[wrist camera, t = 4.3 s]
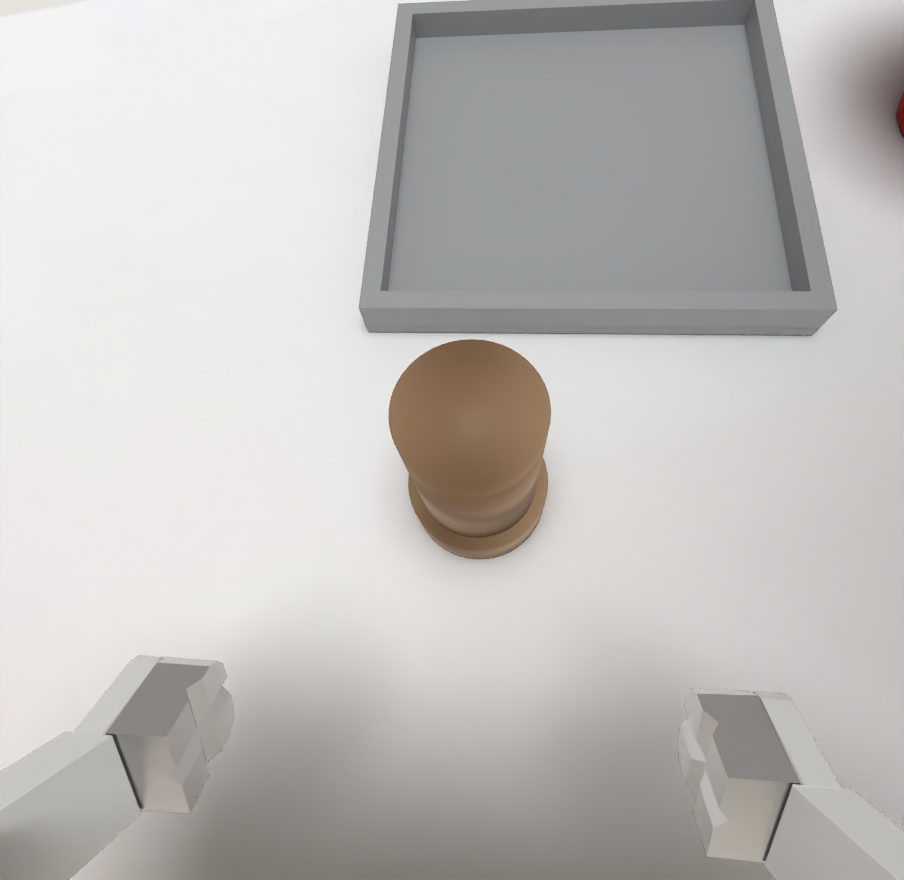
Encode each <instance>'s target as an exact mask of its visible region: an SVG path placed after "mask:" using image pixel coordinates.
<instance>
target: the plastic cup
mask: <svg viewBox="0 0 904 880" xmlns="http://www.w3.org/2000/svg"><path fill="white" fill-rule="evenodd" d="M896 116H897V120H898V123H899V126H900V130H901V133H902V135H903V136H904V93H903V96H902V98H901V101H900V105H899V108H898V111H897V115H896Z"/></svg>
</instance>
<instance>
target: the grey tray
mask: <svg viewBox="0 0 904 880" xmlns="http://www.w3.org/2000/svg"><path fill="white" fill-rule="evenodd" d="M359 310H360V312H361V315H362V317H363V320H364V322H365V325H366V327H367V330H368V332H455V333H592V334H730V335H813V334H814V333H815V332H816V331H817V330H818V329H819V328H820V327H821V326H822V325H823V324H824V323H825V322H826V321H827V320H828V319H829V318H830V317H831V316H832V315H833V314H834V313H835V312H836V311H837V305H836V301H835V296H834V291H833V286H832V281H831V277H830V272H829V267H828V262H827V257H826V253H825V248H824V243H823V238H822V234H821V229H820V224H819V219H818V214H817V210H816V205H815V200H814V195H813V190H812V186H811V181H810V176H809V171H808V166H807V162H806V157H805V152H804V147H803V143H802V138H801V133H800V128H799V123H798V119H797V114H796V109H795V104H794V99H793V95H792V90H791V85H790V80H789V76H788V71H787V66H786V61H785V56H784V52H783V47H782V42H781V37H780V32H779V28H778V23H777V18H776V13H775V9H774V4H773V0H470V1H449V2H427V3H405V4H398V10H397V18H396V25H395V33H394V41H393V48H392V56H391V64H390V71H389V79H388V87H387V95H386V102H385V110H384V118H383V125H382V133H381V141H380V149H379V156H378V164H377V172H376V179H375V187H374V195H373V202H372V210H371V218H370V226H369V233H368V241H367V249H366V256H365V264H364V272H363V279H362V287H361V295H360V303H359Z"/></svg>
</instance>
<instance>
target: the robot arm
mask: <svg viewBox="0 0 904 880" xmlns="http://www.w3.org/2000/svg"><path fill="white" fill-rule="evenodd" d="M226 677H227V675H226V672H225V669H224V665H223V663H221V662H217V661H208V660H196V659H185V658H173V657H157V656H144V655H139V656H137V657H136V658H134V659H132V660H131V661H130V662H129V663H128V664H127V665H126V667H125V668H124V669H123V671H122V672H121V673H120V674H119V676H118V677H117V678H116V679H115V681H114V682H113V683H112V684H111V686H110V687H109V688H108V689H107V691H106V692H105V693H104V694H103V696H102V697H101V698H100V700H99V701H98V702H97V703H96V705H95V706H94V707H93V708H92V710H91V711H90V712H89V713H88V715H87V716H86V717H85V718H84V720H83V721H82V722H81V723H80V725H79V726H78V727H77V729H76V730H75V731H74V732H64V733H63V734H61V735H59V736H58V737H56V738H54V739H53V740H51V741H50V742H48V743H46V744H45V745H43V746H41V747H40V748H38V749H36V750H35V751H33V752H31V753H30V754H28V755H27V756H25V757H23V758H22V759H20V760H18V761H17V762H15V763H13V764H12V765H10V766H9V767H7V768H5V769H4V770H2V771H0V880H69V879H70V878H71V877H72V876H74V875H75V874H76V873H77V872H78V871H79V870H80V869H81V868H82V867H83V866H85V865H86V864H87V863H88V862H89V861H90V860H91V859H92V858H93V857H94V856H96V855H97V854H98V853H99V852H100V851H101V850H102V849H103V848H104V847H105V846H107V845H108V844H109V843H110V842H111V841H112V840H113V839H114V838H115V837H116V836H117V835H119V834H120V833H121V832H122V831H123V830H124V829H125V828H126V827H127V826H128V825H130V824H131V823H132V822H133V821H134V820H135V819H136V818H137V817H138V816H139V815H141V811H158V812H177V813H191V811H192V809H193V807H194V805H195V803H196V801H197V799H198V797H199V795H200V793H201V791H202V789H203V787H204V785H205V783H206V781H207V779H208V777H209V770H208V764H207V762H208V761H210V760H211V759H212V758H213V757H215V756H216V755H217V754H219V753H220V752H221V751H222V749H223V747H224V745H225V743H226V741H227V739H228V737H229V734H230V730H231V726H232V722H233V716H234V705H233V700H232V696H231V694H230V693H229V692H228V691H227V690H226V689H225V688H223V687H222V684H223V683H224V681H225V679H226ZM684 705H685V708H686V711H687V714H688V718H687V719H686V720H685V721H683V722H682V723H681V724H680V729H679V735H678V755H679V761H680V767H681V772H682V775H683V779H684V782H685V785H686V786H687V787H688V788H689V789H690V791H691V792H692V793H693V794H694V795H695V796H696V797H697V799H696V803H695V807H694V812H693V813H694V817H695V820H696V824H697V827H698V830H699V834H700V837H701V840H702V844H703V847H704V850H705V854H706V857H714V858H723V859H732V860H741V861H750V862H759V863H765V865H764V867H765V868H766V869H767V870H768V872H769V873H770V874H771V875H772V876H773V878H774V879H775V880H904V831H903V830H902V829H901V828H899V827H898V826H897V825H896V824H894V823H893V822H892V821H891V820H889V819H888V818H887V817H886V816H885V815H883V814H882V813H881V812H880V811H878V810H877V809H876V808H875V807H873V806H872V805H871V804H870V803H868V802H867V801H866V800H865V799H864V798H862V797H861V796H860V795H859V794H857V793H856V792H855V791H854V790H852V789H848V788H841V787H840V785H839V783H838V781H837V779H836V777H835V776H834V774H833V772H832V770H831V768H830V767H829V765H828V763H827V761H826V759H825V758H824V756H823V754H822V752H821V750H820V749H819V747H818V745H817V743H816V741H815V740H814V738H813V736H812V734H811V732H810V731H809V729H808V727H807V725H806V723H805V722H804V720H803V718H802V716H801V714H800V713H799V711H798V709H797V707H796V705H795V704H794V702H793V700H792V699H791V698H790V697H789V696H788V695H787V694H786V693H769V692H750V691H733V690H712V689H690V690H689V692H688V693H687V696H686V700H685V704H684Z"/></svg>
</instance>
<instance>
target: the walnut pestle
mask: <svg viewBox="0 0 904 880" xmlns="http://www.w3.org/2000/svg"><path fill="white" fill-rule="evenodd" d="M550 418H551V407H550V399H549V395H548V391H547V389H546V386H545V384H544V382H543V380H542V378H541V376H540V375H539V373H538V372H537V371H536V369H535V368H534V367H533V366H532V365H531V364H530V363H529V362H528V361H527V360H526V359H525V358H524V357H522V356H521V355H520V354H518V353H517V352H515V351H513V350H512V349H510V348H508V347H505V346H503V345H501V344H497V343H494V342H490V341H484V340H473V339H472V340H459V341H453V342H449V343H446V344H442V345H440V346H437V347H435V348H433V349H431V350H429V351H427V352H426V353H424V354H423V355H421V356H420V357H418V358H417V359H416V360H415V361H414V362H413V363H412V364H410V365H409V367H408V368H407V369H406V370H405V371H404V372H403V374H402V375H401V377H400V378H399V380H398V382H397V384H396V386H395V388H394V390H393V393H392V396H391V400H390V406H389V426H390V431H391V435H392V439H393V441H394V443H395V446H396V448H397V450H398V452H399V454H400V456H401V458H402V460H403V462H404V464H405V466H406V468H407V470H408V472H409V484H408V487H409V495H410V499H411V503H412V506H413V508H414V510H415V513H416V514H417V516H418V518H419V519H420V521H421V523H422V525H423V526H424V528H425V530H426V531H427V533H428V534H429V535H430V536H431V538H432V539H433V540H434V541H435V542H436V543H437V544H439V545H440V546H441V547H443V548H444V549H445V550H447V551H449V552H451V553H453V554H456V555H458V556H461V557H465V558H471V559H489V558H495V557H498V556H501V555H504V554H506V553H508V552H511V551H512V550H514V549H515V548H517V547H518V546H520V545H521V544H522V543H523V542H524V541H525V540H526V539H527V538H528V537H529V536H530V535H531V533H532V532H533V531H534V529H535V527H536V525H537V523H538V522H539V519H540V516H541V513H542V510H543V506H544V503H545V500H546V495H547V488H548V476H547V470H546V465H545V462H544V459H543V453H544V448H545V444H546V439H547V435H548V430H549V426H550Z"/></svg>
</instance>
